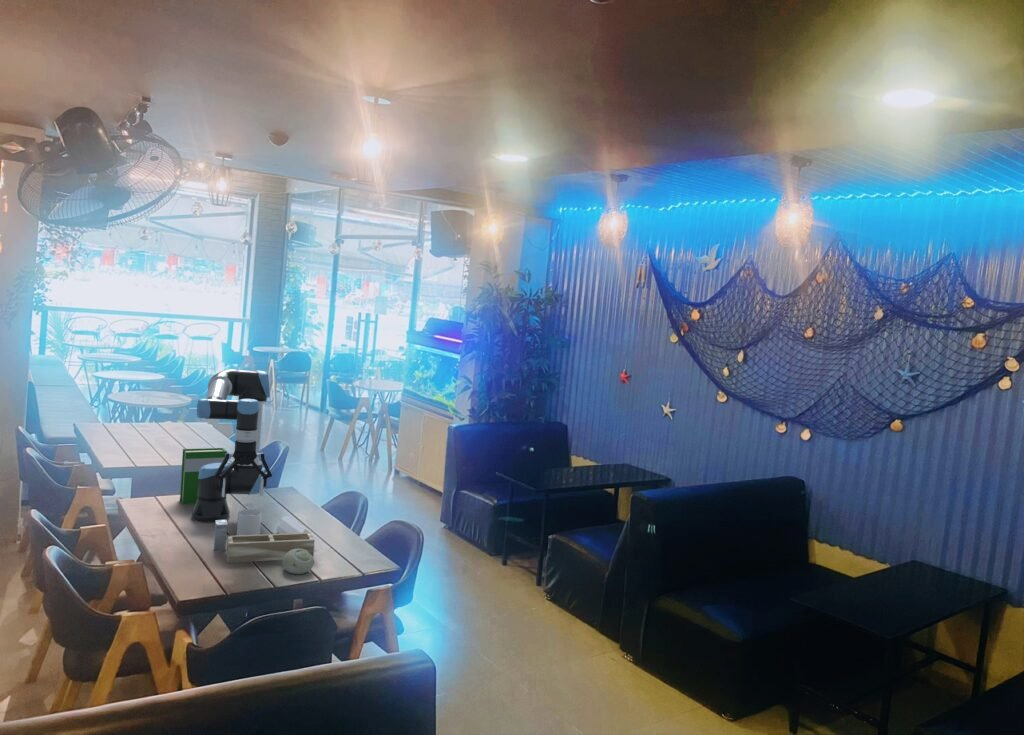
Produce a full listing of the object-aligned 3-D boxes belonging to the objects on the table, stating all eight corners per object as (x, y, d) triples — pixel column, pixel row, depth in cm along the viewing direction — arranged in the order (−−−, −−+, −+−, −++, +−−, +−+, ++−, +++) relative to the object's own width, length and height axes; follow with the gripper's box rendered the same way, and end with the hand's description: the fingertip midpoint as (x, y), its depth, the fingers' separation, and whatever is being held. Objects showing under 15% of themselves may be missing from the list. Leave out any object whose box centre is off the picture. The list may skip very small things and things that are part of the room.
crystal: (271, 522, 303) (293, 540, 285) (286, 512, 307) (309, 529, 288) (278, 536, 306) (301, 554, 287) (293, 526, 310) (317, 544, 291)
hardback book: (182, 504, 328) (186, 452, 326) (179, 500, 334) (182, 448, 332) (223, 501, 338) (227, 451, 336) (220, 497, 344) (223, 447, 342)
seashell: (319, 553, 263) (293, 553, 256) (316, 575, 262) (290, 576, 256) (303, 545, 273) (278, 546, 266) (300, 567, 272) (274, 568, 265)
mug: (260, 542, 289) (262, 515, 289) (237, 543, 286) (239, 515, 285) (257, 532, 300) (259, 506, 299) (234, 533, 296) (236, 507, 295)
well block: (226, 553, 274) (227, 535, 273) (309, 549, 286) (310, 532, 286) (227, 562, 265) (229, 544, 264) (313, 558, 278) (314, 540, 277)
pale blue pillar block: (213, 547, 278) (215, 520, 278) (224, 547, 280) (226, 519, 279) (214, 553, 273) (216, 524, 272) (225, 552, 275) (227, 524, 274)
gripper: (210, 442, 264) (207, 499, 265) (281, 442, 275) (277, 497, 276) (209, 438, 270) (206, 493, 272) (278, 438, 281) (275, 492, 283)
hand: (242, 495), depth 274 cm, fingers open, 13 cm apart
